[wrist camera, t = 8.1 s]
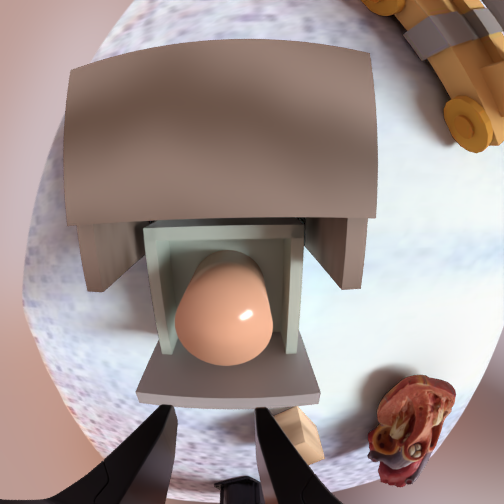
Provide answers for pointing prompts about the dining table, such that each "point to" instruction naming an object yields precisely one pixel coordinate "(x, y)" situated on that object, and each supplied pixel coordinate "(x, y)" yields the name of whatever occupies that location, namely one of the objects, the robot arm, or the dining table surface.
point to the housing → (221, 147)
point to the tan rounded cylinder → (225, 310)
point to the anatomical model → (409, 427)
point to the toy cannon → (460, 60)
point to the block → (301, 434)
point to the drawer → (281, 306)
